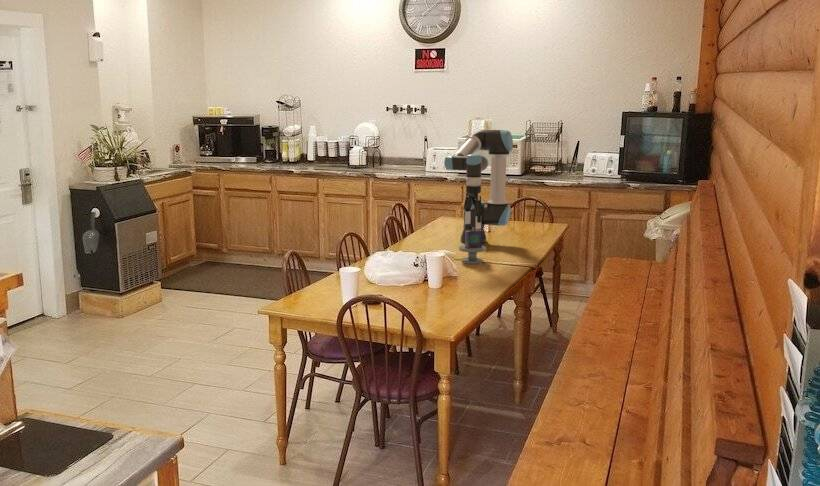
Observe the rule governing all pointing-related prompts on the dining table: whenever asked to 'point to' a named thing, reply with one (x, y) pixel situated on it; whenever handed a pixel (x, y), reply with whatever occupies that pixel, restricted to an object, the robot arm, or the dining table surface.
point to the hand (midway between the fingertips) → (472, 226)
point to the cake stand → (472, 254)
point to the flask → (473, 238)
